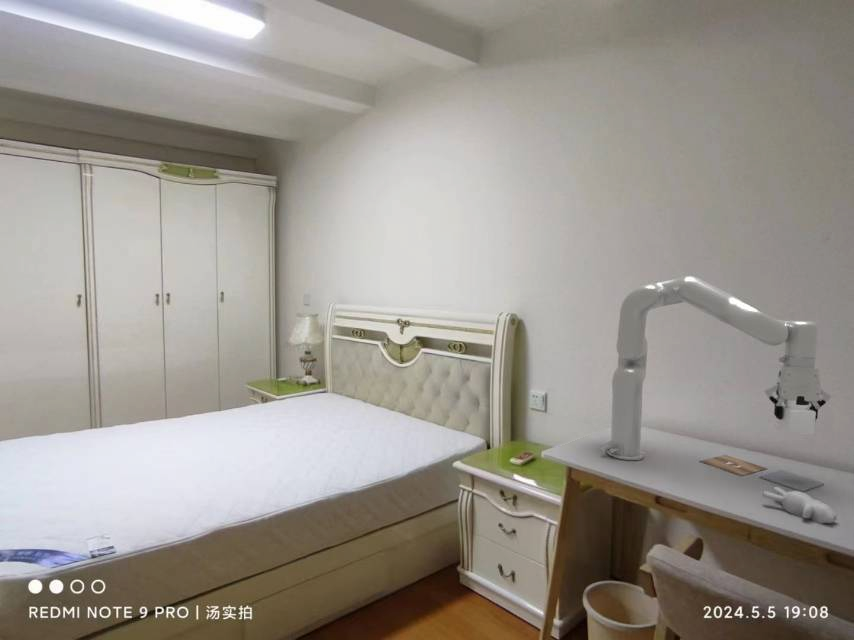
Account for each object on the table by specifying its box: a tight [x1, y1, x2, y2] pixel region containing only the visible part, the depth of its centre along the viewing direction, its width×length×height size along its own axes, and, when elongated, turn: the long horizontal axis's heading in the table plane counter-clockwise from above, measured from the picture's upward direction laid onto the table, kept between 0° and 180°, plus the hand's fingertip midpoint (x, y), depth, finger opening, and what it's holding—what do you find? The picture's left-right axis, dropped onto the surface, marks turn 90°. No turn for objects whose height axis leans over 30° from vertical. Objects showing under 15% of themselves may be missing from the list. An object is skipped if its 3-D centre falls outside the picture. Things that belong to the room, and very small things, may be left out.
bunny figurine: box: [762, 486, 839, 524], centre depth 132 cm, size 10×5×15 cm
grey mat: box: [758, 469, 825, 493], centre depth 153 cm, size 12×12×1 cm
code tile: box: [699, 454, 768, 477], centre depth 166 cm, size 14×14×1 cm
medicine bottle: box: [774, 396, 816, 436], centre depth 152 cm, size 7×7×12 cm
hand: (795, 419), depth 152 cm, fingers closed on medicine bottle, 8 cm apart
